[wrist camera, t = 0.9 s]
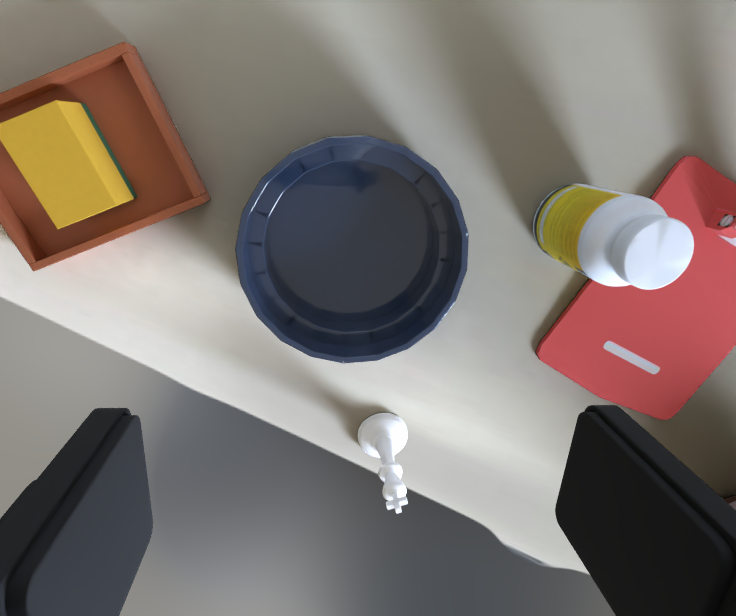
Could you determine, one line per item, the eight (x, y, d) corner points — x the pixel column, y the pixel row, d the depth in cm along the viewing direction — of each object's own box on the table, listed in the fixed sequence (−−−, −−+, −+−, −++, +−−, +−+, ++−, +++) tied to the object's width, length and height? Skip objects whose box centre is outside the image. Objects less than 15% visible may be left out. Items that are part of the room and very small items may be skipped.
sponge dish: (-48, 122, 33) (-70, 122, 31) (135, 46, 32) (124, 41, 30) (47, 264, 37) (33, 271, 35) (211, 199, 36) (205, 202, 35)
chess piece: (351, 421, 45) (359, 497, 36) (399, 406, 45) (420, 478, 36) (366, 459, 47) (377, 541, 38) (412, 445, 47) (435, 523, 38)
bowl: (209, 183, 36) (192, 191, 31) (414, 101, 35) (428, 97, 31) (297, 362, 42) (294, 391, 38) (473, 295, 42) (492, 317, 37)
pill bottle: (516, 242, 40) (589, 284, 29) (553, 169, 38) (645, 186, 27) (578, 267, 42) (669, 316, 31) (617, 199, 40) (728, 225, 29)
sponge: (28, 127, 33) (-9, 126, 29) (85, 103, 33) (55, 99, 29) (84, 218, 36) (57, 229, 32) (138, 197, 35) (117, 205, 32)
